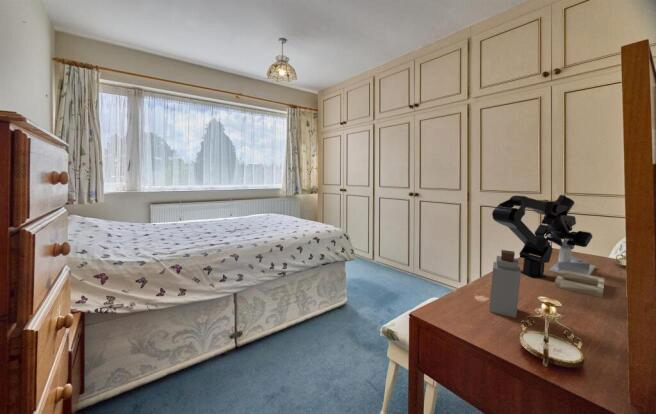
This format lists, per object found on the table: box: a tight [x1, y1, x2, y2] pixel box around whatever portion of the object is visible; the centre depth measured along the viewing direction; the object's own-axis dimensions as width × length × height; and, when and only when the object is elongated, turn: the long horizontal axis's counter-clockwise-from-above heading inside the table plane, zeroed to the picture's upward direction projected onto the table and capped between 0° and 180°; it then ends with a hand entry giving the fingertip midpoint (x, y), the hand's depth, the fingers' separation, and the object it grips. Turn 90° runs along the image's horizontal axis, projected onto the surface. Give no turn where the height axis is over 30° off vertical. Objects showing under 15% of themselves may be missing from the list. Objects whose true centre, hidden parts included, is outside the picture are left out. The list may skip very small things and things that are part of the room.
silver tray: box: [549, 255, 596, 275], centre depth 123 cm, size 12×20×4 cm, turn 132°
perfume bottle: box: [488, 249, 522, 319], centre depth 86 cm, size 7×7×18 cm
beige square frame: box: [554, 270, 605, 298], centre depth 106 cm, size 16×13×2 cm
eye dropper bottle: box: [558, 239, 573, 262], centre depth 124 cm, size 4×6×12 cm
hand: (567, 247), depth 125 cm, fingers open, 4 cm apart
